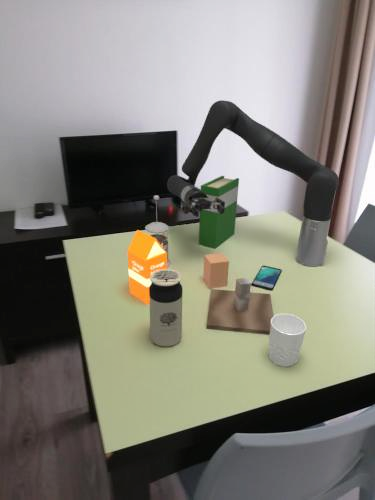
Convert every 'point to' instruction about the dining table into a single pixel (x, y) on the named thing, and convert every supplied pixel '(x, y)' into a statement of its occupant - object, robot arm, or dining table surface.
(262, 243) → the dining table surface
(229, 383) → the dining table surface
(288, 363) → the white cup
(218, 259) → the tall peach pillar
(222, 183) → the hardback book
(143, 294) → the orange juice
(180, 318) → the travel mug
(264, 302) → the post base
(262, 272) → the smartphone
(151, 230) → the french press
